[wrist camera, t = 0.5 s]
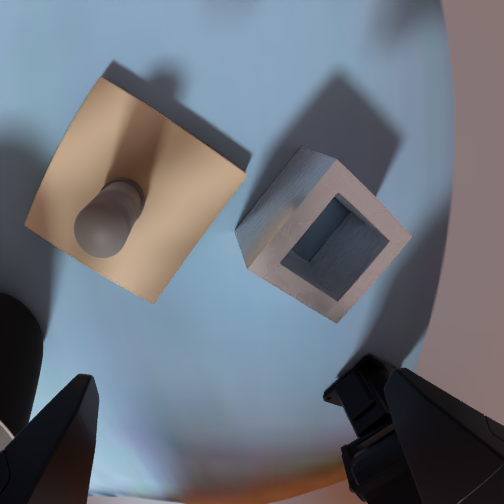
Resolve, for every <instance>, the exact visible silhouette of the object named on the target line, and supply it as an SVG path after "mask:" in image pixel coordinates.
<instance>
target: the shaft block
mask: <svg viewBox="0 0 504 504" xmlns="http://www.w3.org/2000/svg"><path fill="white" fill-rule="evenodd" d="M247 176H248V175H247V174H246V172H244V171H243V170H242V169H240V168H239V167H238V166H236V165H235V164H233V163H232V162H231V161H229V160H228V159H226V158H225V157H224V156H222V155H221V154H219V153H218V152H217V151H215V150H214V149H212V148H211V147H209V146H208V145H207V144H205V143H204V142H202V141H201V140H199V139H198V138H197V137H195V136H194V135H192V134H191V133H189V132H188V131H186V130H185V129H183V128H182V127H180V126H179V125H177V124H176V123H174V122H173V121H172V120H170V119H169V118H167V117H165V116H164V115H162V114H161V113H159V112H158V111H156V110H155V109H153V108H152V107H150V106H149V105H147V104H146V103H144V102H143V101H141V100H139V99H138V98H136V97H135V96H133V95H132V94H130V93H128V92H127V91H125V90H124V89H122V88H120V87H119V86H117V85H116V84H114V83H112V82H111V81H109V80H107V79H106V78H103V77H100V78H99V80H98V81H97V83H96V84H95V86H94V87H93V89H92V90H91V92H90V94H89V95H88V97H87V98H86V100H85V101H84V103H83V105H82V106H81V108H80V110H79V111H78V113H77V115H76V116H75V118H74V120H73V121H72V123H71V125H70V127H69V129H68V130H67V132H66V134H65V136H64V138H63V140H62V141H61V143H60V145H59V147H58V149H57V151H56V153H55V155H54V157H53V159H52V161H51V163H50V165H49V167H48V169H47V171H46V174H45V176H44V178H43V180H42V182H41V185H40V187H39V189H38V191H37V194H36V196H35V199H34V201H33V203H32V206H31V208H30V211H29V214H28V216H27V219H26V221H25V224H24V225H25V226H26V227H27V228H29V229H30V230H32V231H33V232H35V233H36V234H38V235H39V236H41V237H42V238H44V239H45V240H47V241H48V242H50V243H51V244H53V245H54V246H56V247H57V248H59V249H60V250H62V251H64V252H65V253H67V254H68V255H70V256H71V257H73V258H75V259H76V260H78V261H79V262H81V263H83V264H84V265H86V266H88V267H89V268H91V269H92V270H94V271H96V272H97V273H99V274H101V275H102V276H104V277H106V278H108V279H109V280H111V281H113V282H114V283H116V284H118V285H120V286H121V287H123V288H125V289H127V290H128V291H130V292H132V293H134V294H136V295H137V296H139V297H141V298H143V299H145V300H146V301H148V302H150V303H152V304H154V303H155V302H156V300H157V299H158V297H159V296H160V294H161V293H162V292H163V290H164V289H165V287H166V286H167V284H168V283H169V282H170V280H171V279H172V277H173V276H174V274H175V273H176V272H177V270H178V269H179V267H180V266H181V265H182V263H183V262H184V260H185V259H186V258H187V256H188V255H189V254H190V252H191V251H192V249H193V248H194V247H195V245H196V244H197V243H198V241H199V240H200V238H201V237H202V236H203V234H204V233H205V232H206V230H207V229H208V228H209V226H210V225H211V224H212V222H213V221H214V220H215V218H216V217H217V215H218V214H219V213H220V211H221V210H222V209H223V208H224V206H225V205H226V204H227V202H228V201H229V200H230V198H231V197H232V196H233V194H234V193H235V192H236V190H237V189H238V188H239V187H240V185H241V184H242V183H243V181H244V180H245V179H246V177H247Z"/></svg>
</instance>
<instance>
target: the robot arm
mask: <svg viewBox="0 0 504 504" xmlns="http://www.w3.org/2000/svg"><path fill="white" fill-rule="evenodd" d="M323 399H324V401H326V402H329V403H332V404H335V405H338V406H342V407H343V408H344V410H345V412H346V414H347V417H348V419H349V421H350V423H351V425H352V427H353V429H354V431H355V433H356V435H357V437H358V439H356V440H355V441H353V442H351V443H350V444H348V445H344V446H343V447H341V451H342V459H343V462H344V466H345V470H346V474H347V478H348V482H349V489H350V491H351V492H352V493H355V494H356V495H357V496H358V497H359V498H360V499H361V500H362V501H363V502H367V503H368V504H504V426H503V425H501V424H499V423H497V422H496V421H494V420H492V419H491V418H489V417H487V416H484V414H482V413H480V412H478V411H477V410H475V409H473V408H472V407H470V406H468V405H467V404H465V403H463V402H461V401H460V400H458V399H457V398H455V397H453V396H451V395H450V394H448V393H447V392H445V391H443V390H442V389H440V388H438V387H437V386H435V385H433V384H432V383H430V382H428V381H426V380H425V379H423V378H422V377H420V376H418V375H417V374H415V373H414V372H412V371H410V370H409V369H407V368H398V369H397V368H395V367H394V366H392V365H390V364H388V363H386V362H384V361H382V360H381V359H379V358H377V357H375V356H373V355H371V354H370V355H367V356H366V357H365V358H364V359H362V360H361V361H360V362H359V363H358V364H357V365H356V366H355V367H354V368H353V369H352V370H351V371H350V372H349V373H348V374H347V375H346V376H344V377H343V378H342V379H341V380H340V381H339V382H338V383H337V384H336V385H334V386H333V387H332V388H331V389H330V390H329V391H328V392H327V393H325V394H324V395H323ZM98 408H99V394H98V391H97V387H96V383H95V380H94V377H93V376H92V375H88V374H78V375H77V376H76V377H75V378H73V379H72V380H71V381H70V382H69V383H68V384H67V385H66V386H65V387H64V388H63V389H62V390H61V391H60V392H59V393H58V394H57V395H56V396H55V397H54V398H53V399H52V400H51V401H50V402H49V403H48V404H47V405H46V406H45V407H44V408H43V409H42V410H41V411H40V412H39V413H38V414H37V415H36V416H35V417H34V418H33V419H32V420H31V421H30V422H29V423H28V424H27V425H26V426H25V427H24V428H23V429H22V430H21V431H20V432H19V433H18V435H17V436H16V437H15V438H14V439H13V440H12V441H11V442H10V443H9V444H8V445H7V446H6V447H5V448H4V449H5V450H2V451H1V452H0V504H87V497H88V490H89V483H90V477H91V470H92V464H93V459H94V453H95V445H96V431H97V419H98Z"/></svg>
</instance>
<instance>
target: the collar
mask: <svg viewBox="0 0 504 504" xmlns="http://www.w3.org/2000/svg"><path fill="white" fill-rule="evenodd" d="M333 197H335V198H336V199H337V200H338V201H339V202H340V203H341V204H342V205H343V206H345V207H346V208H347V209H348V210H349V211H350V213H349V214H348V215H347V216H346V217H345V219H344V220H343V221H342V222H341V224H340V225H339V226H338V227H337V228H336V230H335V231H334V232H333V233H332V234H331V236H330V237H329V238H328V239H327V240H326V242H325V243H324V244H323V245H322V246H321V248H320V249H319V250H318V251H317V252H316V254H315V255H314V256H313V257H312V258H311V259H310V261H307V260H306V259H304V258H303V257H302V256H300V255H299V254H297V253H296V252H294V251H293V250H292V247H293V246H294V245H295V244H296V243H297V241H298V240H299V239H300V238H301V237H302V235H303V234H304V233H305V232H306V231H307V229H308V228H309V227H310V226H311V224H312V223H313V222H314V221H315V220H316V218H317V217H318V216H319V215H320V213H321V212H322V211H323V210H324V209H325V207H326V206H327V205H328V204H329V202H330V201H331V200H332V199H333ZM234 232H235V235H236V238H237V241H238V244H239V246H240V249H241V252H242V255H243V258H244V261H245V264H246V267H247V269H248V270H249V271H251V272H252V273H254V274H256V275H257V276H259V277H261V278H262V279H264V280H265V281H267V282H269V283H270V284H272V285H274V286H275V287H277V288H279V289H280V290H282V291H283V292H285V293H287V294H288V295H290V296H292V297H293V298H295V299H297V300H298V301H300V302H302V303H303V304H305V305H307V306H308V307H310V308H312V309H313V310H315V311H317V312H318V313H320V314H322V315H323V316H325V317H327V318H328V319H330V320H332V321H333V322H335V323H338V322H339V321H340V320H341V318H342V317H343V316H344V315H345V314H346V313H347V312H348V311H349V310H350V309H351V308H352V307H353V306H354V304H355V303H356V302H357V301H358V300H359V299H360V298H361V297H362V296H363V295H364V293H365V292H366V291H367V290H368V289H369V288H370V287H371V285H372V284H373V283H374V282H375V281H376V280H377V279H378V277H379V276H380V275H381V274H382V273H383V272H384V270H385V269H386V268H387V267H388V266H389V264H390V263H391V262H392V261H393V260H394V258H395V257H396V256H397V255H398V254H399V252H400V251H401V250H402V249H403V247H404V246H405V245H406V244H407V242H408V241H409V240H410V239H411V237H412V236H411V235H410V233H409V232H408V231H407V230H406V229H405V228H404V227H403V226H402V225H401V223H400V222H399V221H398V220H397V219H396V218H395V217H394V216H393V215H392V214H391V213H390V212H389V210H388V209H387V208H386V207H385V206H384V205H383V204H382V203H381V202H380V201H379V200H378V199H377V198H376V197H375V196H374V195H373V194H372V193H371V192H370V191H369V190H368V189H367V188H366V187H365V186H364V185H363V184H362V183H361V182H360V181H359V180H358V179H357V178H356V177H355V176H354V175H353V174H352V173H351V172H350V171H349V170H348V169H347V168H346V167H345V166H344V165H343V164H342V163H340V162H339V161H338V160H337V159H335V158H333V157H330V156H328V155H325V154H322V153H320V152H317V151H314V150H311V149H309V148H306V147H303V146H301V147H300V149H299V150H298V151H297V152H296V154H295V155H294V156H293V157H292V159H291V160H290V161H289V162H288V164H287V165H286V166H285V167H284V169H283V170H282V171H281V172H280V174H279V175H278V176H277V177H276V179H275V180H274V181H273V182H272V184H271V185H270V186H269V187H268V189H267V190H266V191H265V192H264V194H263V195H262V196H261V198H260V199H259V200H258V201H257V203H256V204H255V205H254V206H253V208H252V209H251V210H250V212H249V213H248V214H247V215H246V217H245V218H244V219H243V221H242V222H241V223H240V224H239V226H238V227H237V228H236V230H235V231H234Z"/></svg>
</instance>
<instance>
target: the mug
mask: <svg viewBox="0 0 504 504" xmlns="http://www.w3.org/2000/svg"><path fill="white" fill-rule="evenodd" d="M42 357H43V339H42V334H41V330H40V327H39V325H38V323H37V321H36V319H35V318H34V316H33V315H32V314H31V312H30V311H29V310H28V309H27V308H26V307H25V306H24V305H23V304H22V303H20V302H19V301H18V300H16V299H15V298H13V297H11V296H9V295H6V294H3V293H0V452H1V451H2V450H5V449H4V448H5V447H6V446H7V445H8V444H9V443H10V442H11V441H12V440H13V439H14V438H15V437H16V436H17V435H18V433H19V432H20V431H21V430H22V429H23V428H24V427H25V426H26V425H27V424H28V423H29V419H30V415H31V411H32V407H33V402H34V398H35V394H36V389H37V385H38V380H39V375H40V370H41V364H42Z"/></svg>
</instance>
